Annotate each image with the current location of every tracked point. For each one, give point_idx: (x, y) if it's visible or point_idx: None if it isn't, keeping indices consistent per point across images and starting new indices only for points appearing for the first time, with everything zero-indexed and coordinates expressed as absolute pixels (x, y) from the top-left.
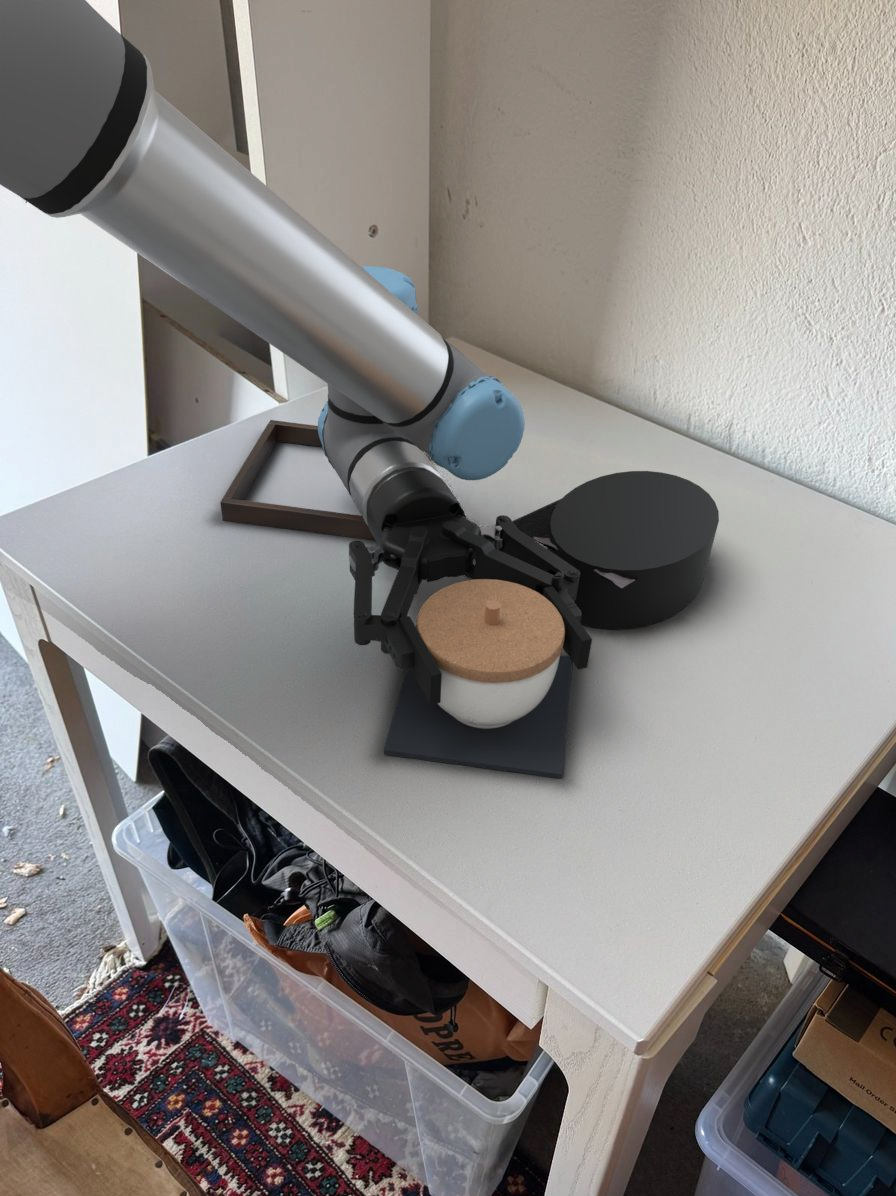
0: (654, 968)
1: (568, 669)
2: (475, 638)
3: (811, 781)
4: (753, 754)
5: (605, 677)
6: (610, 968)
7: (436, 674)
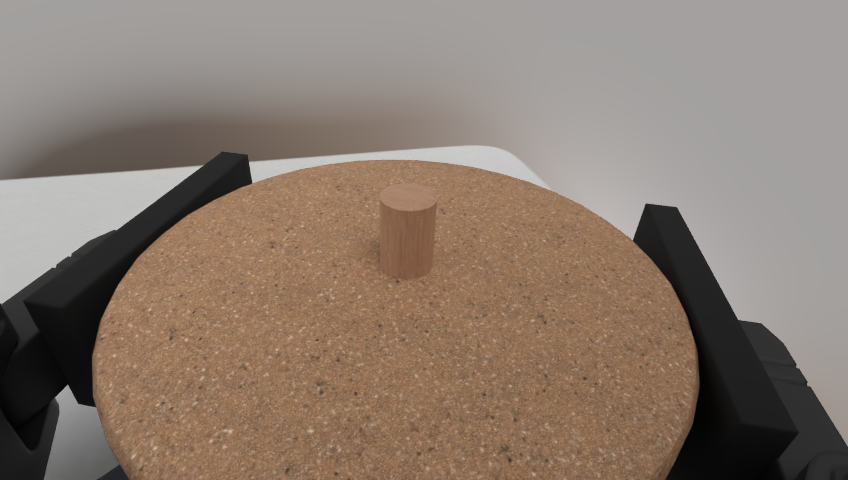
0: (459, 156)
1: (121, 471)
2: (502, 237)
3: (130, 183)
4: (126, 220)
5: (74, 427)
6: (494, 166)
7: (661, 205)
